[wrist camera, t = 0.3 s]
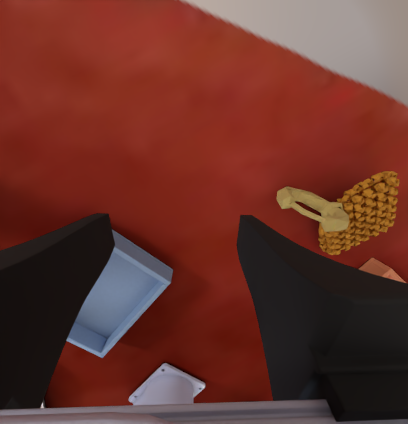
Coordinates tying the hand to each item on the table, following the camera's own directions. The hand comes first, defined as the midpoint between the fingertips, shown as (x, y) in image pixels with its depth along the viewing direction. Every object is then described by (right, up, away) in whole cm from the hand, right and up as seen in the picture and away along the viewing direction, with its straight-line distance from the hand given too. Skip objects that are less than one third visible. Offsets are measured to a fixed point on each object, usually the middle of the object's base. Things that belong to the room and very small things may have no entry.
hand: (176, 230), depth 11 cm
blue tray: (-11, -8, +13) cm, 19 cm away
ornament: (+16, +2, +12) cm, 19 cm away
